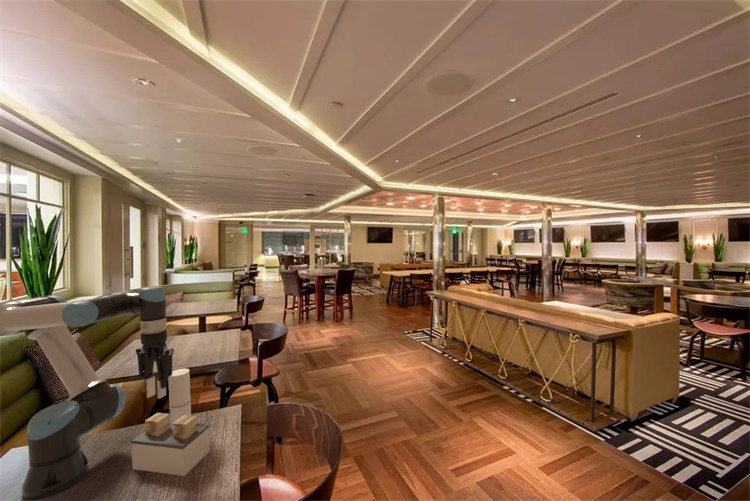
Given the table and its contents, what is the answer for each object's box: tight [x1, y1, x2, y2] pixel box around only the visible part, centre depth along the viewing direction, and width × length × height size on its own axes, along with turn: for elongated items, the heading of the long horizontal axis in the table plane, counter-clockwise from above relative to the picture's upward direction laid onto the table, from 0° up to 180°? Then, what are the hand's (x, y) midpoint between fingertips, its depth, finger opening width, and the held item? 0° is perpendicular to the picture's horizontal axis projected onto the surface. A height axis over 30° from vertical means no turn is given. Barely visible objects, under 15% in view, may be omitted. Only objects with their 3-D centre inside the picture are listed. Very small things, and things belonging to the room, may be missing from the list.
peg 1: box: [144, 412, 170, 437], centre depth 111 cm, size 5×5×8 cm
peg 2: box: [173, 415, 198, 440], centre depth 109 cm, size 5×5×8 cm
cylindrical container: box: [167, 368, 192, 421], centre depth 125 cm, size 7×7×25 cm
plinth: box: [130, 421, 211, 477], centre depth 110 cm, size 20×12×10 cm, turn 80°
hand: (156, 396), depth 110 cm, fingers open, 4 cm apart
